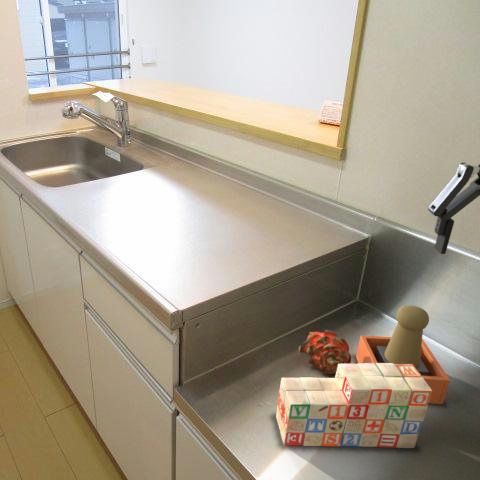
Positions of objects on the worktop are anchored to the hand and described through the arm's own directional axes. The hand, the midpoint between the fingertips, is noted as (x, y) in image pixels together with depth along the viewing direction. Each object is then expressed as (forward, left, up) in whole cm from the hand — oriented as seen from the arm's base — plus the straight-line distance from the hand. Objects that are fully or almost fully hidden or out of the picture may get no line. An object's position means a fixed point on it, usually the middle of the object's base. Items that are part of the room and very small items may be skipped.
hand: (479, 252), depth 83 cm
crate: (+12, +7, -25) cm, 28 cm away
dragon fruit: (+25, +4, -25) cm, 36 cm away
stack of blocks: (+26, +22, -25) cm, 42 cm away
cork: (+12, +7, -20) cm, 24 cm away
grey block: (+12, +7, -24) cm, 28 cm away
